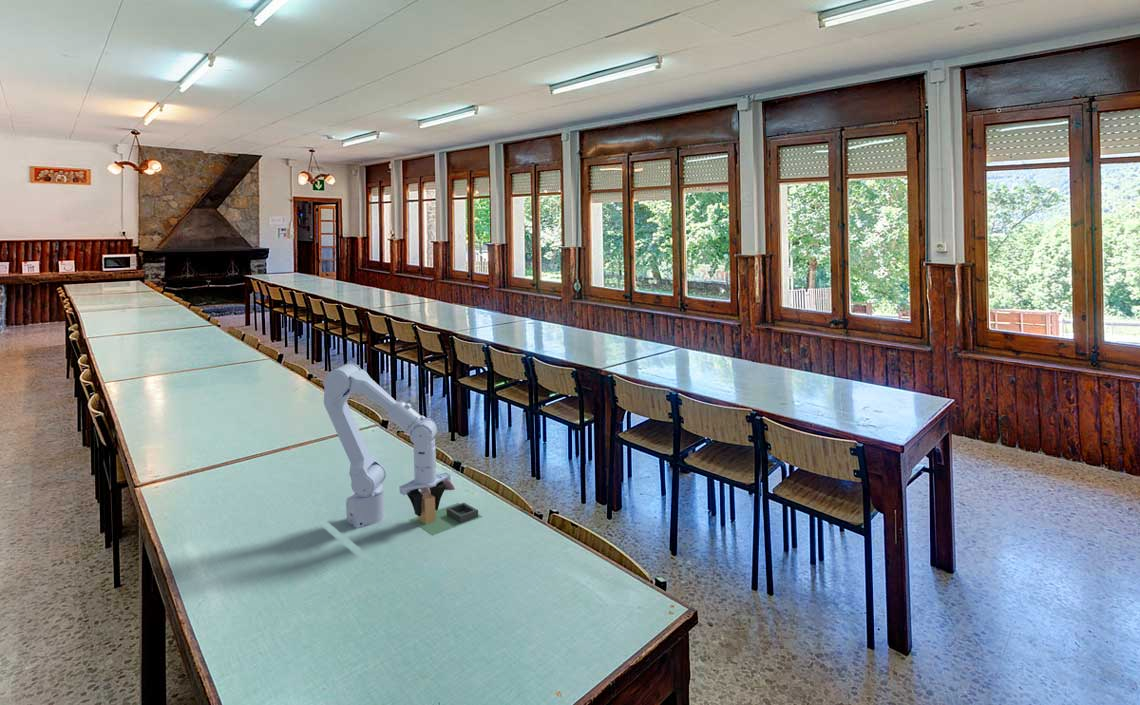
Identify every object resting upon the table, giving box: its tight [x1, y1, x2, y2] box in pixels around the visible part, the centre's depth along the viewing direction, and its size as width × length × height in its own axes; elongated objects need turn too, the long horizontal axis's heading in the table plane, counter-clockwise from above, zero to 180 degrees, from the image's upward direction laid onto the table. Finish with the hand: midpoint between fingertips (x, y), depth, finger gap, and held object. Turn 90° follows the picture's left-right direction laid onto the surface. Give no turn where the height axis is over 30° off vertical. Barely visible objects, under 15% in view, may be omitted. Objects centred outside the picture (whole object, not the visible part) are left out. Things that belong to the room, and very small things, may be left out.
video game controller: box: [420, 480, 455, 494], centre depth 186 cm, size 10×5×7 cm, turn 141°
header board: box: [409, 502, 483, 536], centre depth 168 cm, size 16×12×3 cm
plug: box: [417, 492, 436, 524], centre depth 166 cm, size 3×4×7 cm
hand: (426, 511), depth 167 cm, fingers open, 5 cm apart
